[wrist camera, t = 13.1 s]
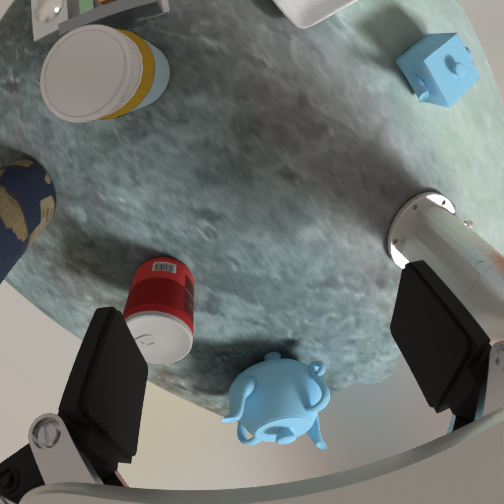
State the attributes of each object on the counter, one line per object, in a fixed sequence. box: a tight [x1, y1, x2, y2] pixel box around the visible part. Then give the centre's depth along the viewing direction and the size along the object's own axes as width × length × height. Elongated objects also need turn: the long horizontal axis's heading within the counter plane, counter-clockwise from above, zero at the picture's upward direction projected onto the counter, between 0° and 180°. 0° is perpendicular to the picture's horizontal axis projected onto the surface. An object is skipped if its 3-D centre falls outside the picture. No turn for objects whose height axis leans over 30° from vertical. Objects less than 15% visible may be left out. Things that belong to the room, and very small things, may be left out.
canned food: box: [123, 257, 194, 364], centre depth 34 cm, size 8×8×11 cm
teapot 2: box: [395, 33, 480, 107], centre depth 25 cm, size 12×6×8 cm, turn 134°
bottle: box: [40, 24, 170, 123], centre depth 19 cm, size 7×7×15 cm
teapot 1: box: [221, 352, 330, 449], centre depth 46 cm, size 16×20×14 cm
